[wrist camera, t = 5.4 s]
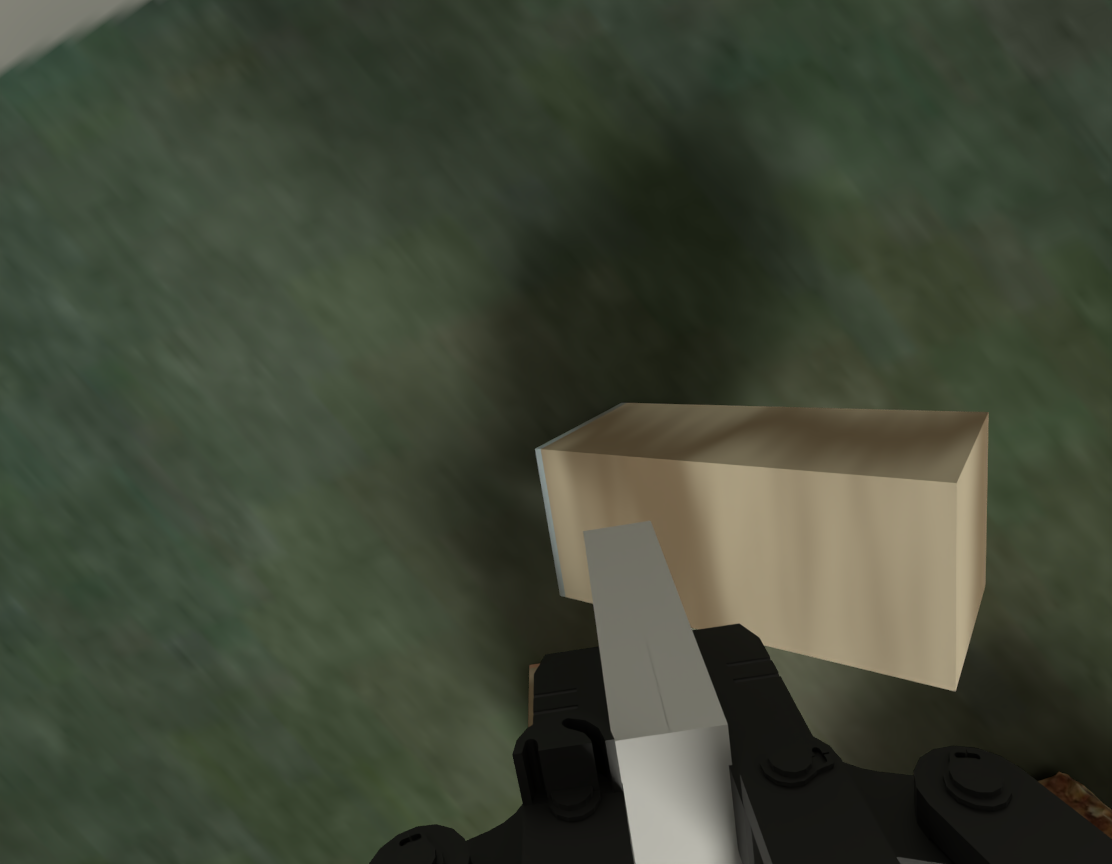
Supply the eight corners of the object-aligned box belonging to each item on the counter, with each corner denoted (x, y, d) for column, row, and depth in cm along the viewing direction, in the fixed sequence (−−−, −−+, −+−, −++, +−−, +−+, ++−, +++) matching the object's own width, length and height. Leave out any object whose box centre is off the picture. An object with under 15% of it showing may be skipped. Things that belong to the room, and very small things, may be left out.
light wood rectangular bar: (560, 595, 20) (955, 691, 14) (534, 448, 19) (956, 482, 13) (638, 531, 23) (985, 585, 17) (621, 402, 22) (988, 412, 16)
